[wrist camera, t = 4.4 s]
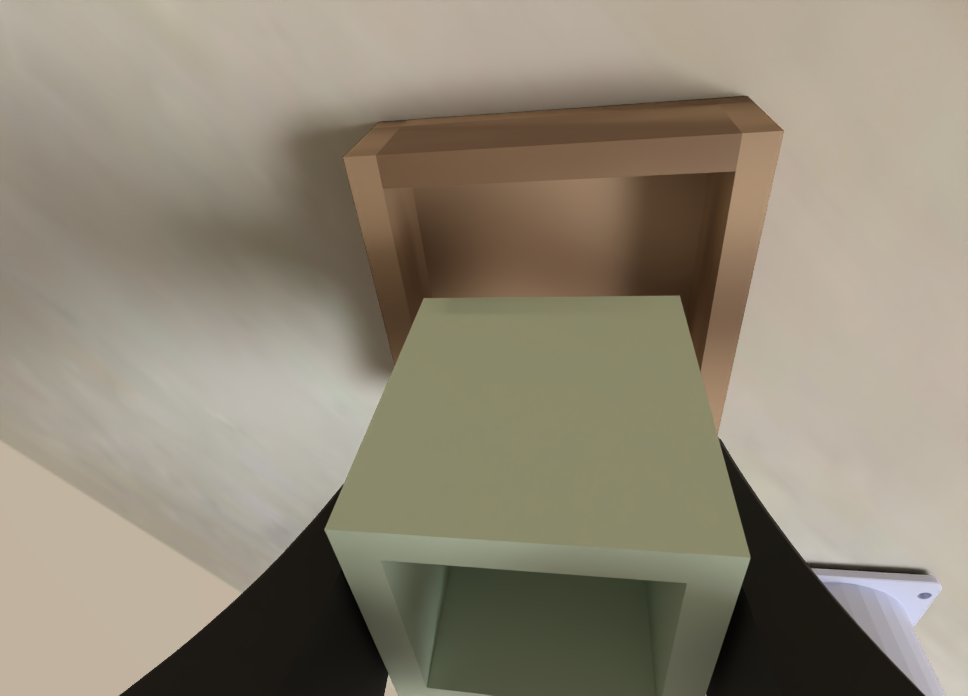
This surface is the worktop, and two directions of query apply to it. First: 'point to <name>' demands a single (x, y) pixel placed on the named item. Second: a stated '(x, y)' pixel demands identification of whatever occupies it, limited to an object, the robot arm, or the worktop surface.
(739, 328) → the big crate
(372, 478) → the small crate
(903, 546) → the worktop surface
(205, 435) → the worktop surface
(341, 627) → the robot arm
